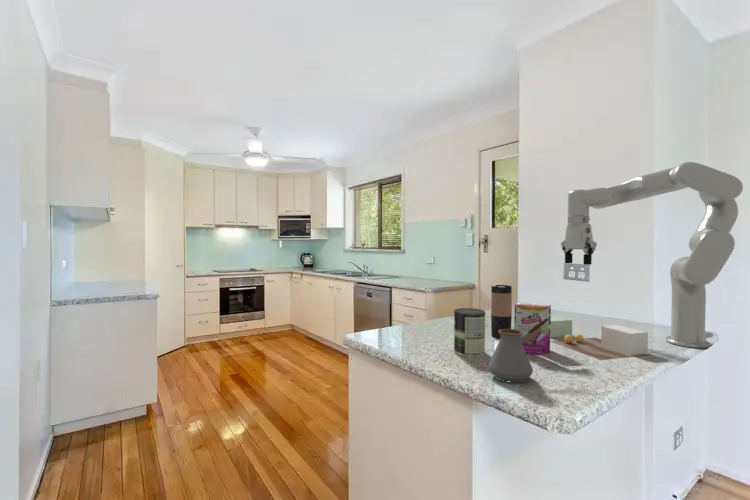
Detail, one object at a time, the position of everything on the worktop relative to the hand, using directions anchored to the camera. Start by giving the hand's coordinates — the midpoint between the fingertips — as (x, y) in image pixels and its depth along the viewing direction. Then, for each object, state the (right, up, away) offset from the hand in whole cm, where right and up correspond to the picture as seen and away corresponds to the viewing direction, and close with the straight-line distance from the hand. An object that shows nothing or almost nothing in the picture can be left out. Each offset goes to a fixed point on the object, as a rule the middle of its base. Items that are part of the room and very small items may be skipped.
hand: (577, 263), depth 150 cm
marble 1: (-12, -26, -17) cm, 33 cm away
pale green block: (-11, -28, -3) cm, 31 cm away
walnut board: (-5, -29, -22) cm, 36 cm away
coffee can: (-49, -29, -24) cm, 62 cm away
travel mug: (-32, -29, -4) cm, 43 cm away
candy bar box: (-29, -29, -24) cm, 48 cm away
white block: (+2, -28, -25) cm, 37 cm away
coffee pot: (-40, -30, -45) cm, 67 cm away
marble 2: (-8, -26, -15) cm, 31 cm away
